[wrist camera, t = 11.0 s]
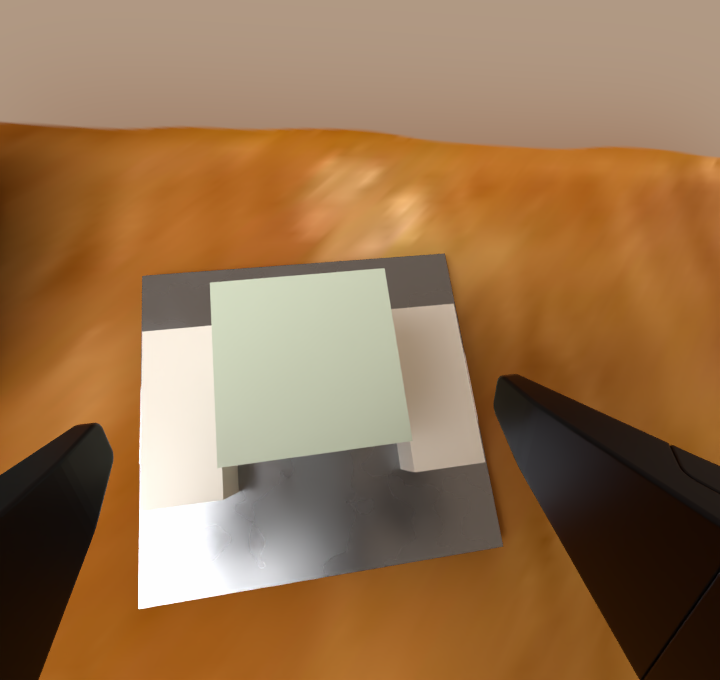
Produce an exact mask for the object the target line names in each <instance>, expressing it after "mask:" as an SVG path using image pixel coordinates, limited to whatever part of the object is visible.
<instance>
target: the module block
mask: <svg viewBox="0 0 720 680" xmlns="http://www.w3.org/2000/svg"><path fill="white" fill-rule="evenodd" d="M210 300H211V324H212V348H213V373H214V397H215V422H216V446H217V468H222V467H229V466H236V465H243V464H251V463H258V462H265V461H272V460H279V459H286V458H294V457H301V456H308V455H315V454H322V453H329V452H337V451H344V450H351V449H358V448H365V447H372V446H379V445H387V444H394V443H401V442H408V441H413V440H412V434H411V428H410V422H409V415H408V409H407V403H406V397H405V391H404V385H403V379H402V372H401V366H400V360H399V354H398V348H397V342H396V336H395V330H394V323H393V317H392V311H391V305H390V299H389V293H388V287H387V280H386V274H385V268H380V269H368V270H356V271H344V272H332V273H320V274H308V275H296V276H284V277H272V278H260V279H248V280H235V281H223V282H211V283H210Z"/></svg>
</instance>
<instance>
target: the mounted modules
mask: <svg viewBox="0 0 720 680" xmlns="http://www.w3.org/2000/svg"><path fill="white" fill-rule="evenodd" d="M391 311H392V317H393V323H394V330H395V336H396V342H397V348H398V354H399V360H400V366H401V372H402V379H403V385H404V391H405V397H406V403H407V409H408V415H409V422H410V428H411V434H412V440H413V441H408V442H401V443H397V448H398V455H399V462H400V469H402V470H406V471H411V472H421V471H428V470H435V469H442V468H449V467H456V466H463V465H470V464H477V463H484V462H485V458H484V453H483V448H482V443H481V438H480V433H479V428H478V423H477V418H476V413H475V408H474V403H473V398H472V393H471V388H470V383H469V378H468V373H467V368H466V363H465V358H464V353H463V348H462V343H461V338H460V333H459V327H458V322H457V317H456V312H455V307H454V304H444V305H433V306H422V307H411V308H399V309H391ZM238 492H239V485H238V465H236V466H229V467H222V468H217V446H216V422H215V397H214V373H213V348H212V325H211V326H200V327H189V328H178V329H166V330H155V331H144V332H142V386H141V467H140V512H142V511H149V510H156V509H163V508H170V507H177V506H184V505H191V504H198V503H205V502H212V501H219V500H224V499H226V498H228V497H230V496H232V495H234V494H236V493H238Z"/></svg>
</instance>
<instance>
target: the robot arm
mask: <svg viewBox="0 0 720 680" xmlns="http://www.w3.org/2000/svg"><path fill="white" fill-rule="evenodd" d="M494 411H495V414H496V416H497V419H498V421H499V423H500V425H501V428H502V430H503V432H504V435H505V437H506V439H507V442H508V444H509V446H510V449H511V451H512V453H513V456H514V458H515V460H516V462H517V464H518V466H519V468H520V470H521V472H522V474H523V476H524V477H525V479H526V481H527V483H528V485H529V486H530V488H531V490H532V492H533V493H534V495H535V497H536V499H537V500H538V502H539V504H540V506H541V507H542V509H543V511H544V513H545V514H546V516H547V518H548V520H549V521H550V523H551V525H552V527H553V529H554V530H555V532H556V534H557V536H558V537H559V539H560V541H561V543H562V544H563V546H564V548H565V550H566V551H567V553H568V555H569V557H570V558H571V560H572V562H573V564H574V565H575V567H576V569H577V571H578V572H579V574H580V576H581V578H582V580H583V581H584V583H585V585H586V587H587V588H588V590H589V592H590V594H591V595H592V597H593V599H594V601H595V602H596V604H597V606H598V608H599V609H600V611H601V613H602V615H603V616H604V618H605V620H606V622H607V623H608V625H609V627H610V629H611V631H612V632H613V634H614V636H615V638H616V639H617V641H618V643H619V645H620V646H621V648H622V650H623V652H624V653H625V655H626V657H627V659H628V660H629V662H630V664H631V666H632V667H633V669H634V671H635V673H636V675H637V676H638V678H639V679H640V680H720V466H718V465H716V464H714V463H711V462H709V461H707V460H705V459H702V458H700V457H698V456H695V455H693V454H691V453H689V452H687V451H684V450H682V449H680V448H678V447H676V446H674V445H671V446H670V445H669V444H668V443H667V442H665V441H662V440H660V439H658V438H656V437H654V436H652V435H649V434H647V433H645V432H643V431H641V430H638V429H636V428H634V427H632V426H630V425H627V424H625V423H623V422H621V421H619V420H616V419H614V418H612V417H610V416H608V415H606V414H603V413H601V412H599V411H597V410H595V409H592V408H590V407H588V406H586V405H584V404H581V403H579V402H577V401H575V400H573V399H570V398H568V397H566V396H564V395H562V394H560V393H557V392H555V391H553V390H551V389H549V388H546V387H544V386H542V385H540V384H538V383H535V382H533V381H531V380H529V379H527V378H525V377H522V376H520V375H518V374H510V375H502V376H500V377H499V378H498V381H497V386H496V392H495V398H494ZM112 464H113V451H112V448H111V446H110V444H109V442H108V439H107V437H106V435H105V433H104V430H103V428H102V427H101V425H100V424H98V423H89V424H80V425H76V426H74V427H72V428H71V429H69V430H68V431H66V432H65V433H63V434H62V435H60V436H59V437H57V438H56V439H54V440H53V441H51V442H50V443H48V444H47V445H45V446H44V447H42V448H41V449H39V450H38V451H36V452H35V453H33V454H32V455H30V456H29V457H27V458H26V459H24V460H23V461H21V462H20V463H18V464H17V465H15V466H13V467H12V468H10V469H9V470H7V471H6V472H4V473H3V474H1V475H0V680H39V677H40V674H41V672H42V669H43V667H44V664H45V661H46V659H47V656H48V653H49V651H50V648H51V646H52V643H53V640H54V638H55V635H56V632H57V630H58V627H59V624H60V622H61V619H62V617H63V614H64V611H65V609H66V606H67V603H68V601H69V598H70V595H71V593H72V590H73V588H74V585H75V582H76V580H77V577H78V574H79V572H80V569H81V566H82V564H83V561H84V559H85V556H86V553H87V551H88V548H89V545H90V543H91V540H92V537H93V534H94V532H95V529H96V525H97V522H98V518H99V515H100V511H101V507H102V503H103V499H104V495H105V491H106V487H107V483H108V480H109V476H110V472H111V468H112Z"/></svg>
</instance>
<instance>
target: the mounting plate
mask: <svg viewBox="0 0 720 680" xmlns="http://www.w3.org/2000/svg"><path fill="white" fill-rule="evenodd" d="M380 268H385V274H386V280H387V287H388V293H389V299H390V305H391V309H399V308H411V307H422V306H433V305H444V304H454V307H455V303H454V298H453V293H452V288H451V283H450V278H449V273H448V268H447V263H446V258H445V254H434V255H420V256H406V257H393V258H379V259H366V260H352V261H339V262H325V263H312V264H298V265H284V266H271V267H257V268H244V269H230V270H217V271H203V272H189V273H176V274H162V275H149V276H142V332H144V331H155V330H166V329H178V328H189V327H200V326H211V325H212V324H211V300H210V283H211V282H223V281H235V280H248V279H260V278H272V277H284V276H296V275H308V274H320V273H332V272H344V271H356V270H368V269H380ZM455 312H456V308H455ZM456 317H457V313H456ZM457 322H458V318H457ZM458 327H459V323H458ZM459 333H460V328H459ZM460 338H461V333H460ZM461 343H462V338H461ZM462 348H463V343H462ZM463 353H464V348H463ZM464 358H465V363H466V368H467V373H468V378H469V383H470V388H471V393H472V398H473V403H474V408H475V413H476V418H477V423H478V416H477V411H476V406H475V401H474V396H473V391H472V386H471V381H470V376H469V371H468V366H467V361H466V356H465V353H464ZM141 386H142V350H141ZM478 428H479V423H478ZM479 433H480V428H479ZM480 438H481V433H480ZM481 443H482V438H481ZM482 448H483V443H482ZM483 453H484V448H483ZM484 458H485V453H484ZM140 467H141V400H140ZM238 485H239V492H238V493H236V494H234V495H232V496H230V497H228V498H226V499H224V500H219V501H212V502H205V503H198V504H191V505H184V506H177V507H170V508H163V509H156V510H149V511H142V512H140V509H139V588H138V609H142V608H148V607H153V606H159V605H165V604H171V603H177V602H183V601H188V600H194V599H200V598H206V597H212V596H218V595H223V594H229V593H235V592H241V591H247V590H252V589H258V588H264V587H270V586H276V585H282V584H287V583H293V582H299V581H305V580H311V579H317V578H322V577H328V576H334V575H340V574H346V573H352V572H357V571H363V570H369V569H375V568H381V567H386V566H392V565H398V564H404V563H410V562H416V561H421V560H427V559H433V558H439V557H445V556H451V555H456V554H462V553H468V552H474V551H480V550H486V549H491V548H497V547H503V543H502V538H501V533H500V528H499V523H498V518H497V513H496V508H495V503H494V498H493V493H492V488H491V483H490V478H489V473H488V468H487V463H486V458H485V462H484V463H477V464H470V465H463V466H456V467H449V468H442V469H435V470H428V471H421V472H411V471H406V470H402V469H400V462H399V455H398V448H397V443H394V444H387V445H379V446H372V447H365V448H358V449H351V450H344V451H337V452H329V453H322V454H315V455H308V456H301V457H294V458H286V459H279V460H272V461H265V462H258V463H251V464H243V465H238Z"/></svg>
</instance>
